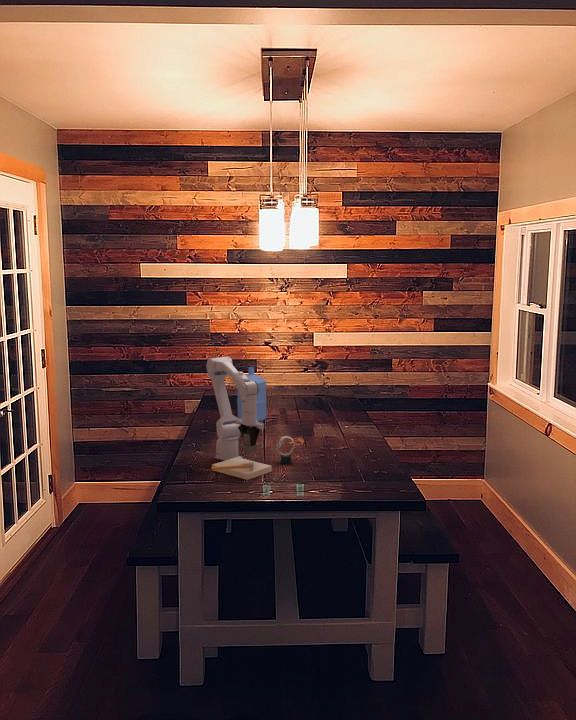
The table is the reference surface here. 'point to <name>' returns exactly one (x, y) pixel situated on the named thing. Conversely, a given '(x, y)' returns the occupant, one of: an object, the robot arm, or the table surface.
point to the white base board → (243, 472)
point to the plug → (248, 444)
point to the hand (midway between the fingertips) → (249, 443)
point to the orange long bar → (235, 467)
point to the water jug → (260, 397)
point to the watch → (285, 456)
